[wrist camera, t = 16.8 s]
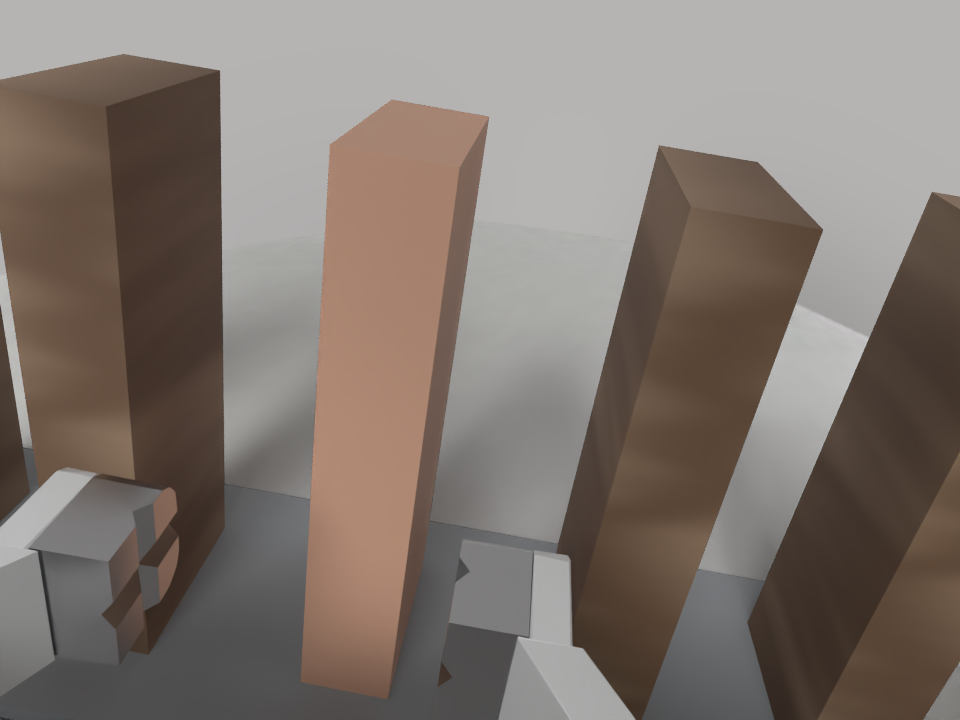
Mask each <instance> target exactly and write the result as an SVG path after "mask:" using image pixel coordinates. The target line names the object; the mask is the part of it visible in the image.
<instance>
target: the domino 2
mask: <svg viewBox="0 0 960 720" xmlns="http://www.w3.org/2000/svg"><path fill="white" fill-rule="evenodd" d="M488 121H489V117H488V116H483V115H477V114H471V113H465V112H459V111H454V110H447V109H441V108H436V107H431V106H425V105H419V104H413V103H408V102H402V101H396V100H391V101H389V102H388V103H387V104H385V105H384V106H382V107H381V108H380V109H378V110H377V111H376V112H374V113H373V114H371V115H370V116H369V117H367V118H366V119H365V120H363V121H362V122H361V123H359V124H358V125H356V126H355V127H354V128H352V129H351V130H349V131H348V132H347V133H346V134H344V135H343V136H341V137H340V138H338V139H337V140H336V141H335V142H333V143H332V144H330V156H329V173H328V192H327V210H326V228H325V246H324V264H323V282H322V300H321V318H320V337H319V355H318V373H317V391H316V409H315V428H314V446H313V464H312V482H311V501H310V519H309V537H308V555H307V573H306V592H305V610H304V628H303V646H302V664H301V682H303V683H308V684H313V685H318V686H323V687H328V688H333V689H338V690H343V691H348V692H353V693H358V694H363V695H368V696H373V697H378V698H383V699H388V697H389V694H390V690H391V686H392V682H393V678H394V674H395V670H396V666H397V663H398V659H399V655H400V651H401V647H402V643H403V639H404V635H405V631H406V628H407V624H408V620H409V616H410V612H411V608H412V604H413V600H414V597H415V593H416V589H417V585H418V581H419V577H420V573H421V569H422V565H423V560H424V553H425V546H426V539H427V533H428V526H429V519H430V512H431V506H432V499H433V492H434V485H435V479H436V472H437V465H438V458H439V452H440V445H441V438H442V431H443V425H444V418H445V411H446V404H447V398H448V391H449V384H450V377H451V371H452V364H453V357H454V350H455V344H456V337H457V330H458V323H459V317H460V310H461V303H462V296H463V289H464V283H465V276H466V269H467V262H468V256H469V249H470V242H471V235H472V229H473V222H474V215H475V208H476V202H477V195H478V188H479V181H480V175H481V168H482V160H483V154H484V148H485V140H486V134H487V127H488Z"/></svg>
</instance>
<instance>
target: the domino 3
mask: <svg viewBox="0 0 960 720" xmlns="http://www.w3.org/2000/svg"><path fill="white" fill-rule="evenodd" d="M822 231H823V229H822V228H821V227H820V226H819V225H818V224H817V223H816V222H815V221H814V220H813V219H812V218H811V217H810V216H809V215H808V214H807V212H806V211H805V210H803V208H802V207H801V206H800V205H799V204H798V203H797V202H796V201H795V200H794V199H793V198H792V197H791V196H790V195H789V194H788V193H787V192H786V191H785V190H784V189H783V188H782V187H781V186H780V185H779V184H778V183H777V182H776V181H775V179H773V177H772V176H771V175H770V174H769V173H768V172H767V171H766V170H765V169H764V168H763V167H762V166H761V165H760V164H759V163H758V162H753V161H747V160H741V159H735V158H729V157H724V156H717V155H712V154H706V153H700V152H694V151H689V150H683V149H677V148H671V147H665V146H659V148H658V152H657V156H656V160H655V164H654V168H653V172H652V175H651V179H650V184H649V187H648V191H647V195H646V199H645V203H644V207H643V211H642V215H641V219H640V223H639V227H638V231H637V235H636V239H635V243H634V247H633V251H632V255H631V259H630V262H629V266H628V270H627V274H626V278H625V282H624V286H623V290H622V294H621V298H620V302H619V306H618V310H617V314H616V318H615V322H614V326H613V330H612V334H611V338H610V342H609V346H608V350H607V353H606V357H605V361H604V365H603V369H602V373H601V377H600V381H599V385H598V389H597V393H596V397H595V401H594V405H593V409H592V413H591V417H590V421H589V425H588V429H587V433H586V437H585V441H584V444H583V448H582V452H581V456H580V460H579V464H578V468H577V472H576V476H575V480H574V484H573V488H572V492H571V496H570V500H569V504H568V508H567V512H566V516H565V520H564V524H563V528H562V532H561V535H560V539H559V543H558V547H557V551H556V554H562V555H568V557H569V558H570V560H571V597H572V646H573V647H578V648H583V649H584V650H585V651H586V653H587V654H588V656H589V657H590V658H591V660H592V661H593V662H594V664H595V665H596V666H597V668H598V669H599V670H600V672H601V673H602V674H603V676H604V677H605V679H606V680H607V681H608V683H609V684H610V685H611V687H612V688H613V689H614V691H615V692H616V693H617V695H618V696H619V698H620V699H621V700H622V702H623V703H624V704H625V706H626V707H627V708H628V710H629V711H630V712H631V714H632V715H633V716H634V718H635V719H636V720H642V718H643V715H644V712H645V710H646V707H647V704H648V702H649V699H650V696H651V694H652V691H653V688H654V685H655V683H656V680H657V677H658V675H659V672H660V669H661V667H662V664H663V661H664V658H665V656H666V653H667V650H668V648H669V645H670V642H671V639H672V637H673V634H674V631H675V629H676V626H677V623H678V621H679V618H680V615H681V612H682V610H683V607H684V604H685V602H686V599H687V596H688V594H689V591H690V588H691V585H692V583H693V580H694V577H695V575H696V572H697V569H698V567H699V564H700V561H701V558H702V556H703V553H704V550H705V548H706V545H707V542H708V540H709V537H710V534H711V531H712V529H713V526H714V523H715V521H716V518H717V515H718V513H719V510H720V507H721V504H722V502H723V499H724V496H725V494H726V491H727V488H728V485H729V483H730V480H731V477H732V475H733V472H734V469H735V467H736V464H737V461H738V458H739V456H740V453H741V450H742V448H743V445H744V442H745V440H746V437H747V434H748V431H749V429H750V426H751V423H752V421H753V418H754V415H755V413H756V410H757V407H758V404H759V402H760V399H761V396H762V394H763V391H764V388H765V386H766V383H767V380H768V377H769V375H770V372H771V369H772V367H773V364H774V361H775V359H776V356H777V353H778V350H779V348H780V345H781V342H782V340H783V337H784V334H785V332H786V329H787V326H788V323H789V321H790V318H791V315H792V313H793V310H794V307H795V304H796V302H797V299H798V296H799V294H800V291H801V288H802V286H803V283H804V280H805V277H806V275H807V272H808V269H809V267H810V264H811V261H812V259H813V256H814V253H815V250H816V248H817V245H818V242H819V240H820V237H821V234H822Z"/></svg>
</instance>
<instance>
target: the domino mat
mask: <svg viewBox="0 0 960 720" xmlns="http://www.w3.org/2000/svg"><path fill="white" fill-rule="evenodd" d="M23 452H24V458H25V464H26V471H27V477H28V483H29V490H30V493H29V494H28V495H27V496H26V497H25V498H24V499H23V500H22V501H21V502H20V503H19V504H18V505H17V506H16V507H15V508H14V509H13V510H12V511H11V512H10V513H9V514H8V515H7V516H6V517H5V518H4V519H3V520H2V521H1V522H0V527H1V526H2V525H3V524H4V523H5V522H6V521H7V520H8V519H9V518H10V517H11V516H12V515H13V514H14V513H15V512H16V511H17V510H18V509H19V508H20V507H21V506H22V505H23V504H24V503H25V502H26V501H27V500H28V499H29V498H30V497H31V496H32V495H33V494H34V493H35V492H36V491H37V490H38V489H39V485H38V478H37V471H36V465H35V458H34V452H33V449H28V448H23ZM224 497H225V528H224V530H223V532H222V533H221V535H220V537H219V538H218V540H217V542H216V543H215V545H214V547H213V548H212V550H211V552H210V553H209V555H208V557H207V558H206V560H205V562H204V563H203V565H202V567H201V568H200V570H199V572H198V573H197V575H196V577H195V578H194V580H193V582H192V583H191V585H190V587H189V588H188V590H187V592H186V593H185V595H184V597H183V598H182V600H181V602H180V603H179V605H178V607H177V608H176V610H175V612H174V613H173V615H172V617H171V618H170V620H169V622H168V623H167V625H166V627H165V628H164V630H163V632H162V633H161V635H160V637H159V638H158V640H157V642H156V643H155V645H154V647H153V648H152V650H151V652H150V653H149V655H147V654H142V653H137V652H131V651H129V652H128V654H127V655H126V657H125V658H124V660H123V661H122V663H121V665H120V666H115V665H108V664H101V663H95V662H88V661H82V660H75V659H68V658H62V657H55V661H53V662H51V663H50V664H48V665H47V666H45V667H44V668H42V669H41V670H39V671H38V672H36V673H35V674H33V675H32V676H30V677H29V678H27V679H26V680H24V681H23V682H21V683H20V684H18V685H17V686H15V687H14V688H12V689H11V690H9V691H8V692H6V693H5V694H3V695H2V696H0V717H2V718H7V719H12V720H432V716H433V710H434V704H435V698H436V691H437V685H438V679H439V673H440V667H441V661H442V655H443V648H444V643H445V637H446V631H447V625H448V619H449V613H450V608H451V602H452V597H453V590H454V585H455V579H456V574H457V568H458V562H459V557H460V551H461V546H462V540H463V539H467V540H472V541H478V542H484V543H490V544H496V545H502V546H508V547H514V548H520V549H526V550H531V551H532V552H533V550H536V551H543V552H549V553H555V554H556V551H557V547H558V544H555V543H549V542H544V541H538V540H532V539H527V538H521V537H516V536H510V535H505V534H499V533H494V532H488V531H483V530H477V529H471V528H466V527H460V526H455V525H449V524H444V523H438V522H433V521H429V526H428V533H427V539H426V546H425V553H424V560H423V565H422V569H421V573H420V577H419V581H418V585H417V589H416V593H415V597H414V600H413V604H412V608H411V612H410V616H409V620H408V624H407V628H406V631H405V635H404V639H403V643H402V647H401V651H400V655H399V659H398V663H397V666H396V670H395V674H394V678H393V682H392V686H391V690H390V694H389V697H388V699H383V698H378V697H373V696H368V695H363V694H358V693H353V692H348V691H343V690H338V689H333V688H328V687H323V686H318V685H313V684H308V683H303V682H301V664H302V646H303V628H304V610H305V592H306V573H307V555H308V537H309V519H310V501H311V499H305V498H299V497H294V496H288V495H283V494H277V493H272V492H266V491H261V490H255V489H250V488H244V487H238V486H233V485H227V484H224ZM764 583H765V581H760V580H754V579H749V578H743V577H738V576H732V575H727V574H721V573H715V572H710V571H704V570H699V569H697V572H696V575H695V577H694V580H693V583H692V585H691V588H690V591H689V594H688V596H687V599H686V602H685V604H684V607H683V610H682V612H681V615H680V618H679V621H678V623H677V626H676V629H675V631H674V634H673V637H672V639H671V642H670V645H669V648H668V650H667V653H666V656H665V658H664V661H663V664H662V667H661V669H660V672H659V675H658V677H657V680H656V683H655V685H654V688H653V691H652V694H651V696H650V699H649V702H648V704H647V707H646V710H645V712H644V715H643V718H642V720H774V717H773V713H772V709H771V706H770V702H769V699H768V695H767V691H766V688H765V684H764V681H763V677H762V673H761V670H760V666H759V663H758V659H757V655H756V652H755V648H754V645H753V641H752V637H751V634H750V630H749V627H748V623H747V622H748V620H749V618H750V615H751V613H752V611H753V608H754V606H755V604H756V601H757V599H758V597H759V594H760V592H761V590H762V587H763V585H764Z"/></svg>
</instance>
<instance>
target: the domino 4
mask: <svg viewBox="0 0 960 720" xmlns="http://www.w3.org/2000/svg"><path fill="white" fill-rule="evenodd" d="M747 623H748V627H749V630H750V634H751V637H752V641H753V645H754V648H755V652H756V655H757V659H758V663H759V666H760V670H761V673H762V677H763V681H764V684H765V688H766V691H767V695H768V699H769V702H770V706H771V709H772V713H773V717H774V720H923V719H924V717H925V716H926V714H927V712H928V711H929V709H930V708H931V706H932V705H933V703H934V701H935V700H936V698H937V697H938V695H939V693H940V692H941V690H942V689H943V687H944V685H945V684H946V682H947V681H948V679H949V677H950V676H951V674H952V673H953V671H954V669H955V668H956V666H957V665H958V663H959V662H960V197H958V196H952V195H947V194H940V193H934V192H932V193H931V196H930V198H929V200H928V202H927V205H926V207H925V209H924V212H923V214H922V216H921V219H920V221H919V223H918V226H917V228H916V230H915V233H914V235H913V237H912V240H911V242H910V244H909V247H908V249H907V251H906V254H905V256H904V258H903V261H902V263H901V265H900V268H899V270H898V272H897V275H896V277H895V280H894V282H893V284H892V286H891V289H890V291H889V293H888V296H887V298H886V300H885V303H884V305H883V308H882V310H881V312H880V314H879V317H878V319H877V321H876V324H875V326H874V328H873V331H872V333H871V335H870V338H869V340H868V342H867V345H866V347H865V349H864V352H863V354H862V356H861V359H860V361H859V363H858V366H857V368H856V370H855V373H854V375H853V377H852V380H851V382H850V384H849V387H848V389H847V391H846V394H845V396H844V398H843V401H842V403H841V405H840V408H839V410H838V412H837V415H836V417H835V419H834V422H833V424H832V426H831V429H830V431H829V433H828V436H827V438H826V440H825V443H824V445H823V447H822V450H821V452H820V454H819V457H818V459H817V461H816V464H815V466H814V468H813V471H812V473H811V475H810V478H809V480H808V482H807V485H806V487H805V489H804V492H803V494H802V496H801V499H800V501H799V503H798V506H797V508H796V510H795V513H794V515H793V517H792V520H791V522H790V524H789V527H788V529H787V531H786V534H785V536H784V538H783V541H782V543H781V545H780V548H779V550H778V552H777V555H776V557H775V559H774V562H773V564H772V566H771V569H770V571H769V573H768V576H767V578H766V580H765V583H764V585H763V587H762V590H761V592H760V594H759V597H758V599H757V601H756V604H755V606H754V608H753V611H752V613H751V615H750V618H749V620H748V622H747Z"/></svg>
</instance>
